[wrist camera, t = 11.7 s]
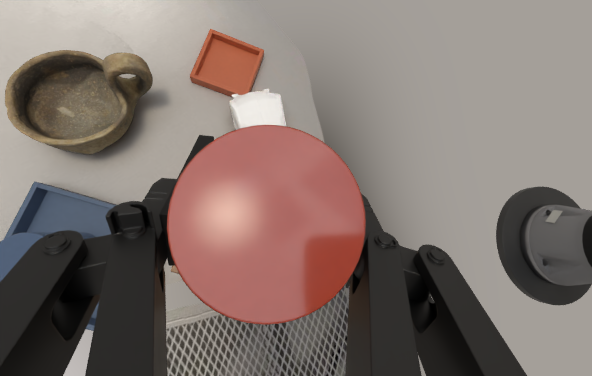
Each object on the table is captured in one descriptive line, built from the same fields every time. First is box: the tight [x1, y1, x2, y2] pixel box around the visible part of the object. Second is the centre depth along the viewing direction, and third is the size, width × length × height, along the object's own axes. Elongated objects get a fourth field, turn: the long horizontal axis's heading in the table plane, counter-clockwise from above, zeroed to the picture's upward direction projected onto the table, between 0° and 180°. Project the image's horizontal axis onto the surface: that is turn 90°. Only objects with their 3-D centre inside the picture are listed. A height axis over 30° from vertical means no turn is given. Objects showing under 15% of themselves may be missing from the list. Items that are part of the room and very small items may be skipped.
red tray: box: [190, 29, 264, 97], centre depth 43 cm, size 9×9×2 cm
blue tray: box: [4, 182, 117, 331], centre depth 34 cm, size 15×15×2 cm
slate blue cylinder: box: [0, 232, 95, 282], centre depth 30 cm, size 6×6×9 cm
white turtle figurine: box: [229, 89, 286, 130], centre depth 39 cm, size 9×8×15 cm
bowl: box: [5, 50, 153, 154], centre depth 34 cm, size 14×18×10 cm
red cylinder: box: [167, 125, 366, 325], centre depth 12 cm, size 6×6×9 cm
